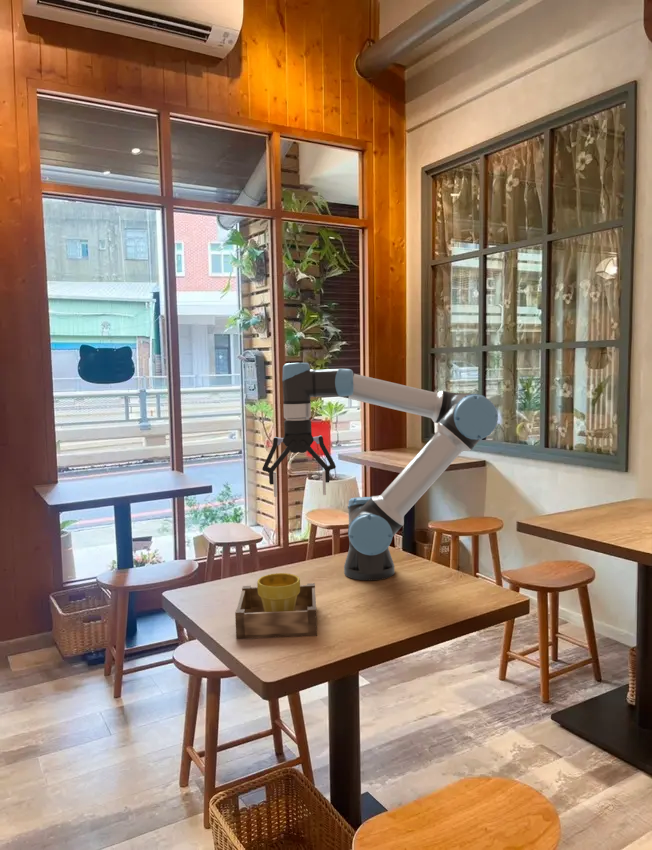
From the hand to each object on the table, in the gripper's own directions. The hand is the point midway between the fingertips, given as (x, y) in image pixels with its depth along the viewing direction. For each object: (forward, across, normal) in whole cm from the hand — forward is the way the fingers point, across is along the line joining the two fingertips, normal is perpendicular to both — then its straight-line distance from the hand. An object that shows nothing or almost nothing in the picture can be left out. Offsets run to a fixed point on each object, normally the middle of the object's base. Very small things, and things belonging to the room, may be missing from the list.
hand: (300, 495), depth 179 cm
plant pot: (+26, +6, +23) cm, 35 cm away
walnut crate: (+27, +6, +24) cm, 36 cm away
